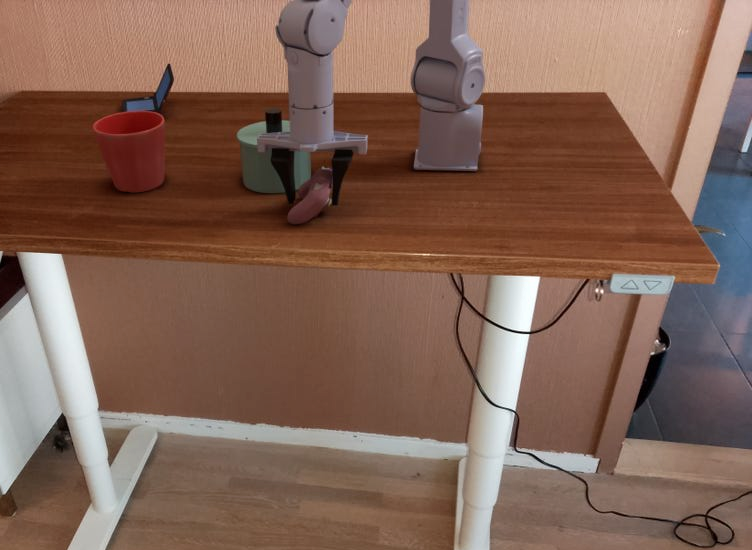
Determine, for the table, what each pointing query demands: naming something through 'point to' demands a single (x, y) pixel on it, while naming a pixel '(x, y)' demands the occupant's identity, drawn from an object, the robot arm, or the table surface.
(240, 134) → the pot lid
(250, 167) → the pot
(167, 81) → the handheld console
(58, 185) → the table surface
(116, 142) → the flower pot
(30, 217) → the table surface
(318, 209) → the video game controller
